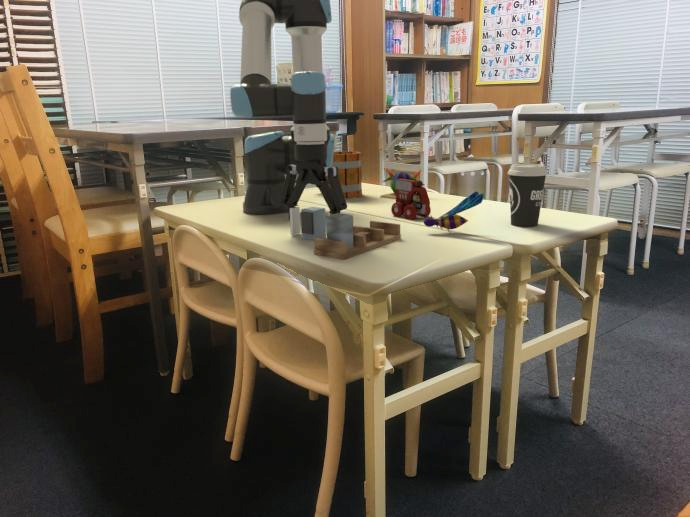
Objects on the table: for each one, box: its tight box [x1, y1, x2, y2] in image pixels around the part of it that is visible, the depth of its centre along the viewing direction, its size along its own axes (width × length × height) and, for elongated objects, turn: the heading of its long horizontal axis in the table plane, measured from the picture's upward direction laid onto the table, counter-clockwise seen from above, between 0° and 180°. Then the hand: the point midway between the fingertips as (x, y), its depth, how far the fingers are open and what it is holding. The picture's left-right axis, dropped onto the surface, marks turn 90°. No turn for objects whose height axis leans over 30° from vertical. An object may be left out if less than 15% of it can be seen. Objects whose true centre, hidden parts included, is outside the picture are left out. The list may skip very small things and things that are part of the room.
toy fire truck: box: [390, 179, 432, 220], centre depth 152 cm, size 7×12×10 cm, turn 37°
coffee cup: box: [507, 163, 549, 228], centre depth 137 cm, size 10×10×15 cm
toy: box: [423, 190, 485, 233], centre depth 130 cm, size 7×14×10 cm, turn 95°
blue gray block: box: [300, 206, 327, 241], centre depth 130 cm, size 4×5×7 cm
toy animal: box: [379, 169, 425, 200], centre depth 185 cm, size 11×15×10 cm
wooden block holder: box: [313, 212, 402, 260], centre depth 121 cm, size 8×22×8 cm, turn 143°
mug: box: [325, 150, 363, 199], centre depth 191 cm, size 20×14×15 cm
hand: (314, 236), depth 131 cm, fingers open, 11 cm apart
